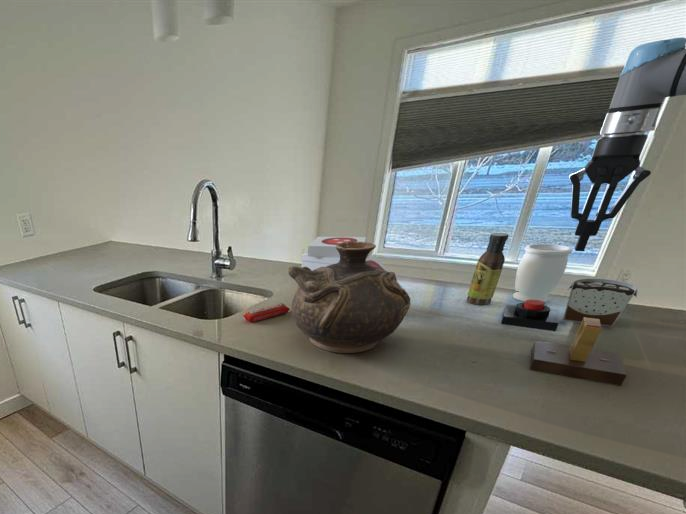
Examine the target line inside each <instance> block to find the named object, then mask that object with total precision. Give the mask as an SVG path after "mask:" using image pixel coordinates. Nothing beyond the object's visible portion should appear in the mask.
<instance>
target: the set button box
mask: <svg viewBox="0 0 686 514" xmlns="http://www.w3.org/2000/svg"><path fill="white" fill-rule="evenodd" d="M524 303H525V302H519V303H517V304H516V305H512V304H511V305H510V304H505V307H504V310H503V313H502V318H501V321H500V325H504V326H513V327H520V328H528V329H536V330H541V331H542V330H544V331H550V332H556V331H557V328H558V326H559V310H556V309H551V307H550V306H548V305H546V304H545V305H544V307H543V310H531V309H526V308H524V307H523V306H524Z"/></svg>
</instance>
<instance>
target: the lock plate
mask: <svg viewBox="0 0 686 514" xmlns="http://www.w3.org/2000/svg"><path fill="white" fill-rule="evenodd" d="M570 347H571V344H562V343H556V342H551V341H544V340H543V341H542V340H534V341H533V344H532V346H531V348H530V361H529V362H530V363H529V370H531V371H536V372H542V373H548V374H553V375H558V376H564V377H570V378H576V379H580V380H586V381H592V382H598V383H602V384H603V383H604V384H608V385H614V386H615V385H616V386H619V387H621V386H622V385H623V384H624V382H625V379H626V378H627V376H628V373H627V370H626V367H625V364H624V361H623V358H622V354H621V352H618V351H612V350H611V351H610V350H605V349H597V348H592V350H591V352H590V354H589V356H588V358H587V360H586V362H582V361H576V360H570V353H569V349H570Z"/></svg>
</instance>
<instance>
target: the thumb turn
mask: <svg viewBox="0 0 686 514" xmlns="http://www.w3.org/2000/svg"><path fill="white" fill-rule="evenodd" d="M602 328H603V327H602V325H601V324H600V320H599V319H594V318H585V317H584V318H583V320H582V322H580V325H579V327H578V328H577V331H576V333H575V335H574V338H573V340H572V342H571V344H570V346H571V347H570V349H569V353H570V360H576V361H582V362H586V360H587V358H588V356H589V354H590V352H591V350H592V349H593V347H594V345H595V343H596V341H597V340H598V337H599V335H600V333H601V331H602Z"/></svg>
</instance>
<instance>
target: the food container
mask: <svg viewBox="0 0 686 514" xmlns="http://www.w3.org/2000/svg"><path fill="white" fill-rule="evenodd" d="M569 290H570V292H569V295H568V300H567V304H566V307H565V310H564V314H563V319H562V321H567V322H568V321H569V322H575V323H581V322H582V320H583V318H584V317H585V318H594V319H599V320H600V324H601V326H603V327H612V328H613V327H614V325H615V324H616V322H617V320H618V319H619V318H620V316H621V315H622V314H623V312H624V311H625V308H627V306H628V304H629V303H630V301H631V300H632V298H633V297H635V298H637V297H638V293H639V291H638V287H637V286H636V285H634V284H631V283H628V282H625V281H620V280H613V279H605V278H604V279H603V278H581V279H576V280H574V281H573V282H572V283H571V284H570V285H569V287H568V288H567V291H569Z"/></svg>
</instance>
